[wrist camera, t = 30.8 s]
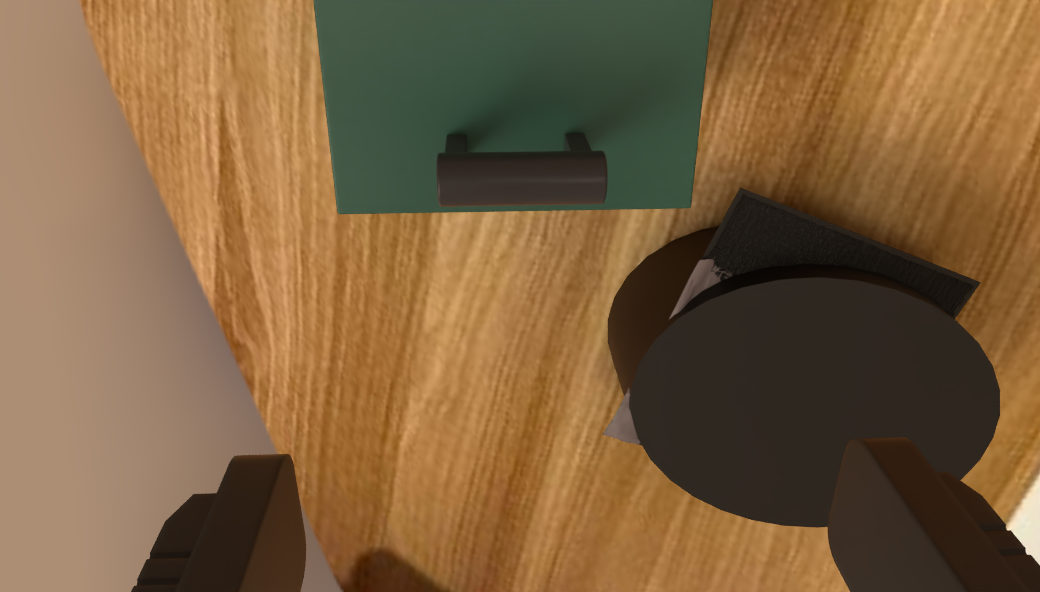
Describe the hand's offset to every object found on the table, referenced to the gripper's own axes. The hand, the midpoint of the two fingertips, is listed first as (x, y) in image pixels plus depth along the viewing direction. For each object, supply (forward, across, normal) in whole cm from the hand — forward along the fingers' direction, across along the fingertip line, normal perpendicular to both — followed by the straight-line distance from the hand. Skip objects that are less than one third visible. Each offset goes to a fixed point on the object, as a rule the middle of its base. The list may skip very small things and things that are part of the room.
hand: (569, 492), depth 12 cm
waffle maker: (+26, -14, +13) cm, 32 cm away
